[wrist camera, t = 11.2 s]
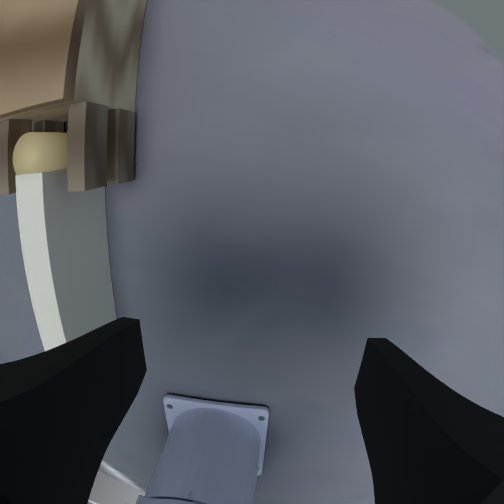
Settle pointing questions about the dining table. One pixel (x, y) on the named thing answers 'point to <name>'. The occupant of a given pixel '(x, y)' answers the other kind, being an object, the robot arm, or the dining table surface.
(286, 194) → the dining table surface
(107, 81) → the cabinet
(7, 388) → the robot arm
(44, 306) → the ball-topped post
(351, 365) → the dining table surface
